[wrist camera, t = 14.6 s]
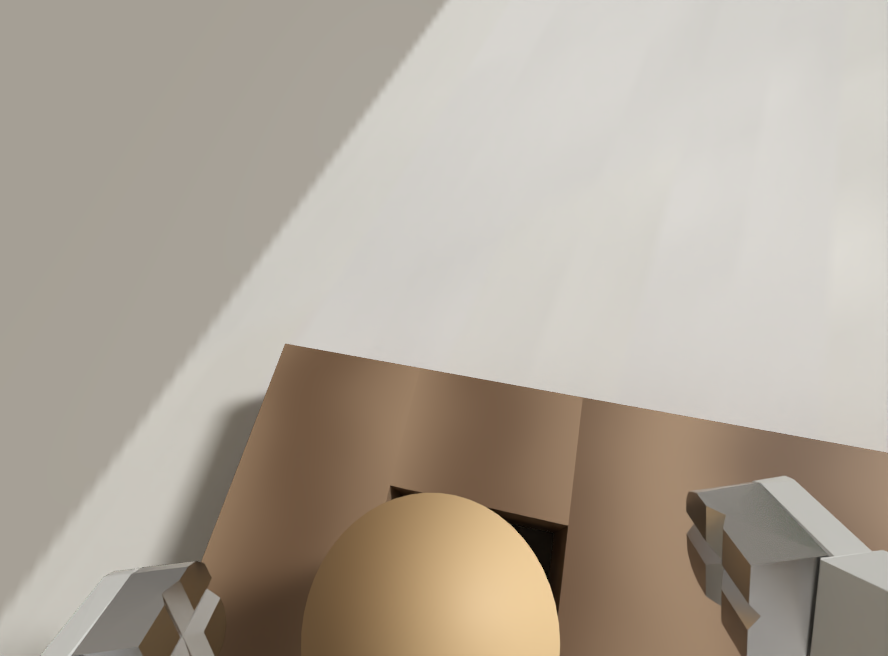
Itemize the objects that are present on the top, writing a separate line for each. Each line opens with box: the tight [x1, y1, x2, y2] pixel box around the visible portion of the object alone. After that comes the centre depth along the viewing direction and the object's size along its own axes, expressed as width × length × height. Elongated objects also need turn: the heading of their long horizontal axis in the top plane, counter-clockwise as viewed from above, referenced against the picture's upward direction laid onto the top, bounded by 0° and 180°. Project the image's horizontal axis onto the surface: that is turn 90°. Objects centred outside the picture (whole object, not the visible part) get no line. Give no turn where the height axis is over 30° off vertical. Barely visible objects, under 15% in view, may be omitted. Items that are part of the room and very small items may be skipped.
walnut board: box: [201, 344, 888, 656], centre depth 13 cm, size 22×12×4 cm, turn 77°
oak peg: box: [301, 493, 560, 656], centre depth 11 cm, size 4×4×10 cm
